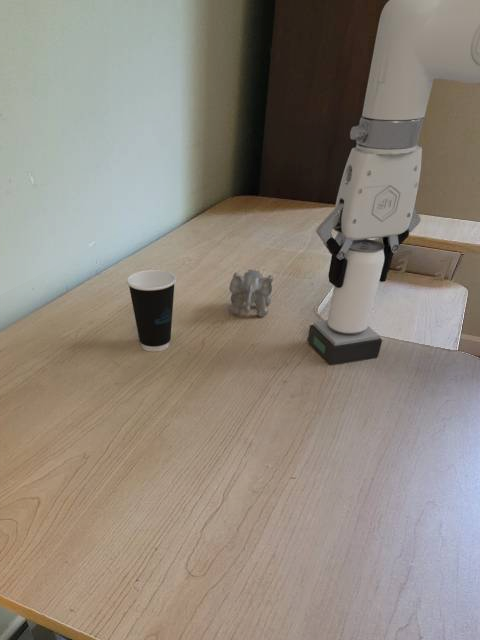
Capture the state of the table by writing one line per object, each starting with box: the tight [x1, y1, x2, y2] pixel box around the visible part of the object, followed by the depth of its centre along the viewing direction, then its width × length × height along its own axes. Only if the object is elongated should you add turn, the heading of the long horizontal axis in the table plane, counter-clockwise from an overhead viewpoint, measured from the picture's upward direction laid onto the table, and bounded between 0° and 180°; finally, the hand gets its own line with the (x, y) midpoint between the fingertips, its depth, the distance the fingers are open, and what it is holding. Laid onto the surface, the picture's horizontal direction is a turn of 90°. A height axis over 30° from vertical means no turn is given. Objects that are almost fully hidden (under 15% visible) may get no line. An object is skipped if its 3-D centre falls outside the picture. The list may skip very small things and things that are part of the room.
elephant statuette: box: [229, 269, 274, 318], centre depth 94 cm, size 9×12×8 cm
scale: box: [307, 319, 383, 366], centre depth 86 cm, size 9×9×4 cm
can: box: [327, 239, 385, 334], centre depth 80 cm, size 6×6×12 cm
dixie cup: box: [126, 269, 177, 353], centre depth 86 cm, size 8×8×11 cm
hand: (357, 280), depth 79 cm, fingers closed on can, 6 cm apart
